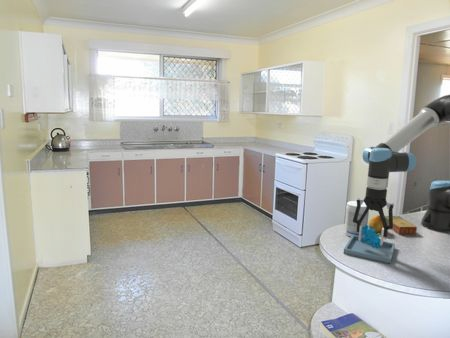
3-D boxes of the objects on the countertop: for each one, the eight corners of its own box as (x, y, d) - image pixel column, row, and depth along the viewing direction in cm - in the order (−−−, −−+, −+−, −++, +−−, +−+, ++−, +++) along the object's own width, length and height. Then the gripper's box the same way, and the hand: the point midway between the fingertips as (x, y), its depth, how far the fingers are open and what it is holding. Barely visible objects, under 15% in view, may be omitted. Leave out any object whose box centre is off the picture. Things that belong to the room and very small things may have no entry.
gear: (372, 247, 137) (360, 224, 142) (360, 254, 141) (349, 231, 146) (388, 245, 144) (376, 223, 148) (377, 251, 148) (365, 229, 152)
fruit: (384, 232, 159) (386, 215, 161) (365, 229, 163) (367, 213, 166) (387, 236, 165) (389, 219, 168) (368, 233, 170) (370, 217, 172)
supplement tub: (370, 238, 158) (374, 206, 155) (351, 239, 156) (354, 207, 153) (358, 230, 167) (361, 200, 164) (339, 231, 165) (342, 201, 162)
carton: (398, 235, 163) (399, 226, 162) (381, 223, 179) (382, 215, 178) (416, 235, 163) (417, 226, 163) (398, 223, 179) (398, 215, 178)
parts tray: (394, 248, 148) (395, 243, 147) (389, 264, 133) (390, 259, 133) (352, 239, 156) (352, 235, 156) (343, 253, 142) (343, 248, 141)
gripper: (347, 185, 141) (342, 239, 146) (404, 193, 131) (397, 251, 136) (351, 181, 148) (346, 233, 152) (406, 189, 138) (399, 244, 142)
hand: (370, 241), depth 144 cm, fingers closed on gear, 7 cm apart
